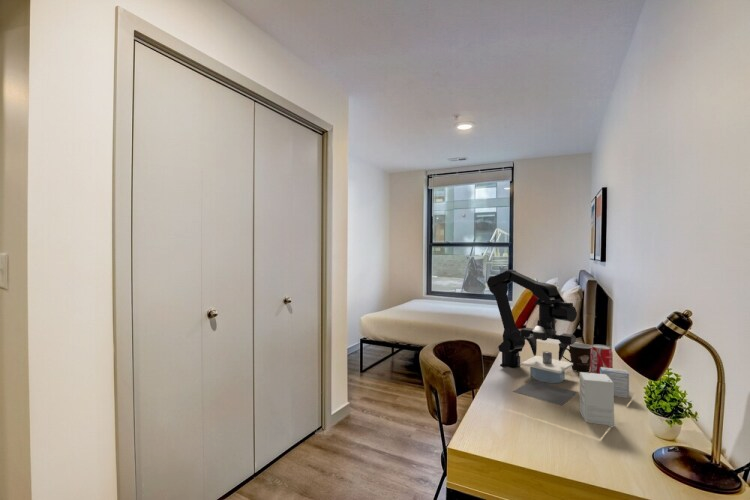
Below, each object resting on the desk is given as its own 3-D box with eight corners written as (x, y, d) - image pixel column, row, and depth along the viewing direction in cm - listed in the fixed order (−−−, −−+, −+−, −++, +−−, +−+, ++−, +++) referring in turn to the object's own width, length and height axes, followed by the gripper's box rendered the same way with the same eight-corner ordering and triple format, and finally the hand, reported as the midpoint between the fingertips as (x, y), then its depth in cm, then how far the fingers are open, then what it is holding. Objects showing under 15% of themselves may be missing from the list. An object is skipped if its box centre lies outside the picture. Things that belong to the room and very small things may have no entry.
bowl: (526, 379, 139) (526, 364, 140) (538, 372, 147) (538, 358, 147) (557, 386, 132) (557, 371, 132) (567, 379, 139) (567, 365, 139)
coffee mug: (593, 368, 152) (593, 344, 152) (592, 374, 144) (592, 349, 144) (562, 364, 158) (561, 341, 158) (559, 369, 151) (559, 345, 151)
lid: (521, 364, 140) (521, 352, 140) (536, 357, 149) (536, 345, 149) (560, 373, 130) (559, 360, 130) (573, 365, 139) (573, 352, 139)
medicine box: (626, 394, 124) (626, 369, 124) (629, 399, 120) (629, 373, 120) (599, 391, 127) (599, 366, 127) (601, 395, 123) (601, 370, 123)
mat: (512, 393, 126) (512, 391, 126) (531, 381, 137) (531, 380, 137) (561, 407, 114) (561, 405, 114) (578, 393, 125) (578, 391, 125)
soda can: (606, 377, 141) (606, 344, 141) (616, 384, 134) (616, 349, 134) (586, 376, 142) (586, 343, 142) (596, 383, 134) (596, 348, 134)
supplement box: (607, 416, 108) (607, 373, 108) (614, 427, 101) (614, 382, 101) (579, 412, 110) (578, 371, 110) (584, 423, 103) (584, 379, 103)
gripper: (514, 316, 141) (514, 357, 141) (565, 323, 127) (565, 368, 127) (526, 313, 148) (526, 351, 148) (576, 319, 135) (576, 361, 135)
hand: (547, 358), depth 139 cm, fingers open, 9 cm apart
